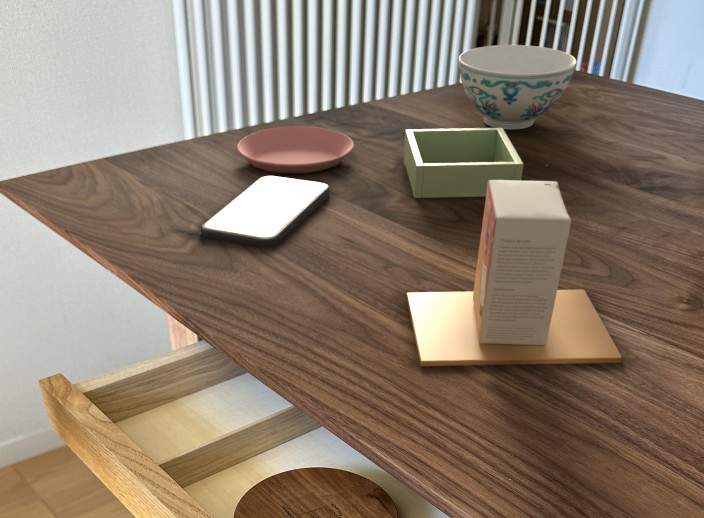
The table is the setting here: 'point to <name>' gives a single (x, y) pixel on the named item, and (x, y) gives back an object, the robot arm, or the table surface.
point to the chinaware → (514, 82)
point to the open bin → (458, 161)
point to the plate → (295, 149)
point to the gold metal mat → (464, 348)
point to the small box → (519, 261)
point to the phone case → (266, 211)
